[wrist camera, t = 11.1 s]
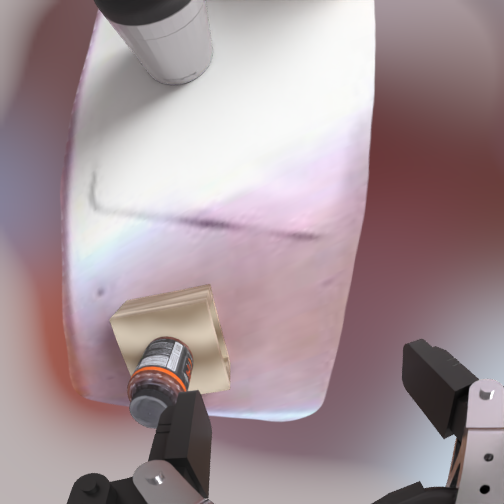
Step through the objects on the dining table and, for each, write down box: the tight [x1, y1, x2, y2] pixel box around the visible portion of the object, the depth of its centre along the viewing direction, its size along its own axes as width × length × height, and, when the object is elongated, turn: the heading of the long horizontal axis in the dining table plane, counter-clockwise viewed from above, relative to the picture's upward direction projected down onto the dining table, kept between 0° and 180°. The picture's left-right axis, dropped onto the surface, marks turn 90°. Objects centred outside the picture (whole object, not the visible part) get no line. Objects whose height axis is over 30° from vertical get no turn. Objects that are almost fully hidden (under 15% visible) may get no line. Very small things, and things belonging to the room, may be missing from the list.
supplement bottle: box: [127, 336, 193, 429], centre depth 31 cm, size 6×6×11 cm
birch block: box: [109, 284, 230, 394], centre depth 40 cm, size 12×12×7 cm
